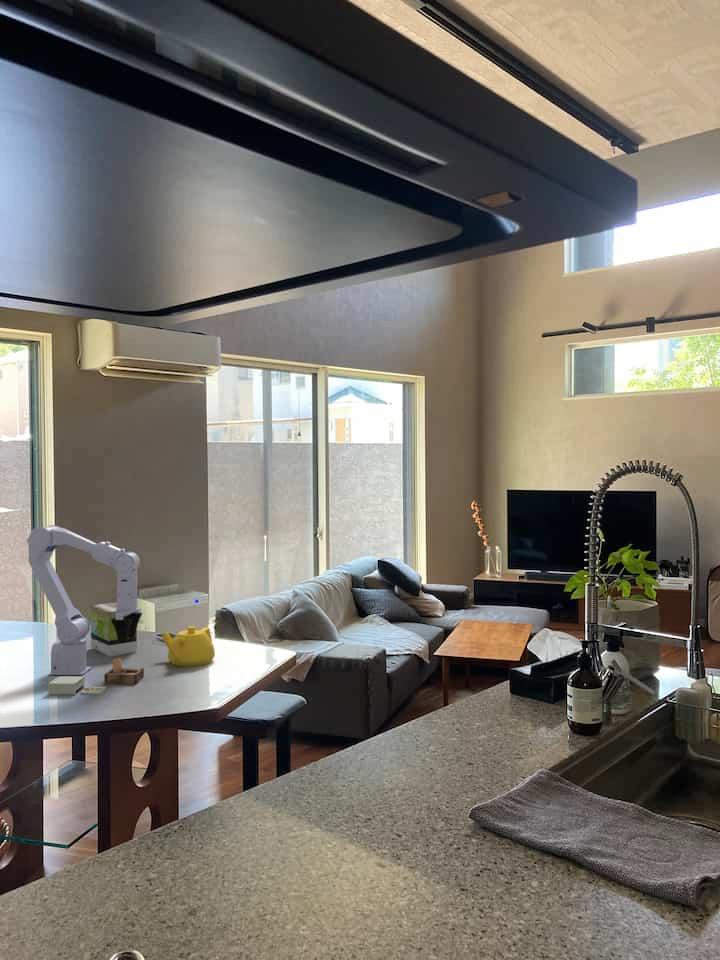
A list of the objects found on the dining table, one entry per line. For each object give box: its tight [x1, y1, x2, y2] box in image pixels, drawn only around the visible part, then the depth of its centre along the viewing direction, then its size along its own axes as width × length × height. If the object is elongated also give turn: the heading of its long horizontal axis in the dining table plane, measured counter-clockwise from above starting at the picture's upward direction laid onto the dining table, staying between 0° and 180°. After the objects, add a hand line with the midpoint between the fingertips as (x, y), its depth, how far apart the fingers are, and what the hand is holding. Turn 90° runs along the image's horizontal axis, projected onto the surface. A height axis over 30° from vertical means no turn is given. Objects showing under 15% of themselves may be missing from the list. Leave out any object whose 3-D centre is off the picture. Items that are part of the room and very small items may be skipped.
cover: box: [48, 675, 86, 696], centre depth 203 cm, size 7×7×3 cm
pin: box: [112, 657, 123, 673], centre depth 214 cm, size 2×2×6 cm
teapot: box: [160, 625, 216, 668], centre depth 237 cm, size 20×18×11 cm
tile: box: [80, 686, 107, 695], centre depth 203 cm, size 5×5×1 cm
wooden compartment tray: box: [104, 667, 145, 685], centre depth 214 cm, size 9×7×2 cm
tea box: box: [90, 601, 138, 657], centre depth 250 cm, size 15×10×15 cm
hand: (126, 640), depth 222 cm, fingers open, 7 cm apart
